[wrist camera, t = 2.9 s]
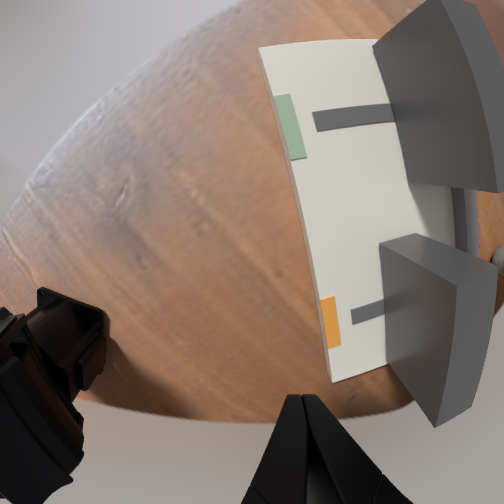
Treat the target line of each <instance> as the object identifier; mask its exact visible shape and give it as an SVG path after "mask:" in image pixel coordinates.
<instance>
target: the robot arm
mask: <svg viewBox="0 0 504 504" xmlns="http://www.w3.org/2000/svg"><path fill="white" fill-rule="evenodd" d="M42 293H43V294H42ZM96 313H97V314H98V315H99V317H98V316H97V315H96ZM103 333H104V313H103V311H102V310H101V309H99V308H97V307H94V306H91V305H88V304H85V303H83V302H80V301H77V300H75V299H72V298H70V297H67V296H64V295H62V294H59V293H57V292H54V291H52V290H50V289H47V288H45V287H41V288H39V289H38V290H37V308H35V309H34V310H33V311H31V312H30V313H29V314H28V315H26V316H25V314H24V313H23V314H18V315H13V314H12V313H10V312H9V311H8V310H7V309H6V308H5V307H1V308H0V499H7V500H8V501H9V502H11V503H12V504H43V503H44V502H45V500H46V499H47V498H48V497H49V496H50V495H51V494H52V493H53V492H55V491H56V490H58V489H59V488H61V487H62V486H65V485H67V484H70V483H72V482H73V478H72V477H71V476H70V474H71V473H72V472H73V471H74V470H75V468H76V467H77V466H78V465H79V464H80V462H81V460H82V459H83V456H84V451H83V450H82V448H83V441H84V435H83V431H82V430H83V421H84V418H83V417H82V415H81V414H80V413H79V412H78V411H77V410H76V409H75V407H74V406H73V404H72V402H73V401H74V399H75V398H76V396H77V395H78V393H79V391H80V390H82V391H86V390H88V389H89V387H90V385H91V384H92V382H93V381H94V379H95V377H96V376H97V375H100V374H101V373H102V371H103V365H104V363H105V353H106V338H105V336H104V335H103ZM241 504H413V503H412V502H411V501H410V500H409V499H408V498H406V497H405V496H404V495H403V494H402V493H401V492H400V491H399V490H398V489H397V488H396V487H395V486H394V485H393V484H392V483H391V482H390V481H389V479H388V478H387V477H386V476H385V475H384V474H382V472H381V471H380V469H379V468H378V467H377V466H376V465H375V464H374V463H373V461H372V460H371V459H370V458H369V457H368V456H367V454H366V453H365V452H364V451H363V450H362V449H361V447H360V446H359V445H358V444H357V443H356V442H355V440H354V439H353V438H352V437H351V436H350V435H349V433H348V432H347V431H346V430H345V429H344V427H343V426H342V425H341V424H340V423H339V421H338V420H337V419H336V418H335V417H334V415H333V414H332V413H331V412H330V410H329V409H328V408H327V407H326V406H325V404H324V403H323V402H322V401H321V399H320V398H319V397H318V396H317V395H316V394H303V395H302V396H301V395H300V394H288V395H287V396H286V399H285V401H284V404H283V407H282V409H281V412H280V415H279V417H278V420H277V422H276V425H275V427H274V430H273V432H272V435H271V438H270V440H269V442H268V445H267V447H266V450H265V452H264V454H263V457H262V459H261V462H260V464H259V466H258V468H257V470H256V473H255V475H254V477H253V479H252V482H251V484H250V486H249V488H248V490H247V492H246V494H245V497H244V498H243V500H242V502H241Z"/></svg>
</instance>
